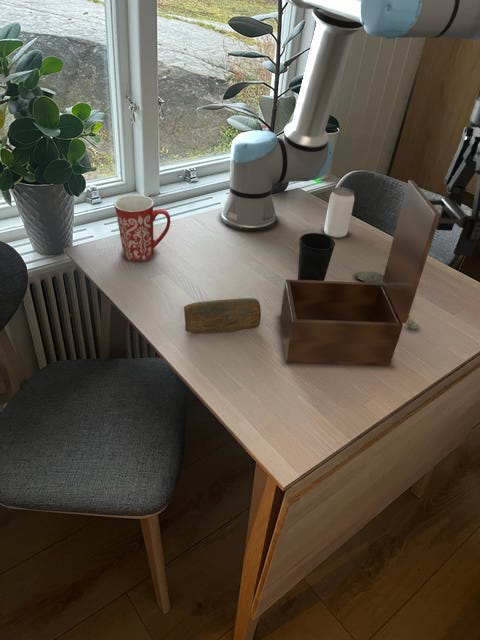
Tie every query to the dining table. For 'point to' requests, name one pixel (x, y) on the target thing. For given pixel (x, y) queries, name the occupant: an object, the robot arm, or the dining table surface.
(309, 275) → the cup
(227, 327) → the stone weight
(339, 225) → the can
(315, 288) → the chest
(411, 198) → the lid
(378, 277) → the soupspoon
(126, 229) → the mug
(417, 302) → the dining table surface
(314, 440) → the dining table surface
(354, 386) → the dining table surface
